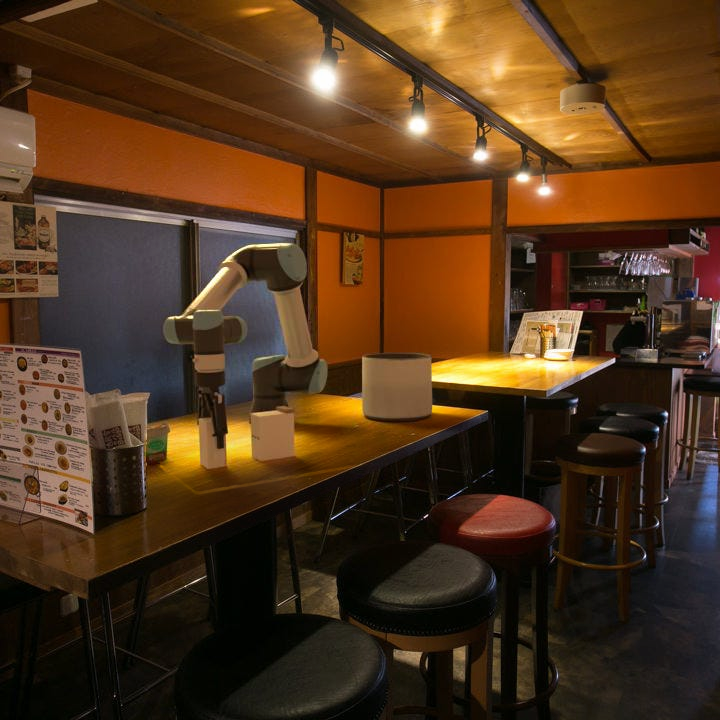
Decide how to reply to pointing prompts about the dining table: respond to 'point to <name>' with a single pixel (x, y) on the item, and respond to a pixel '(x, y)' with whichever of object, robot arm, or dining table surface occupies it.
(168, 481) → the dining table surface
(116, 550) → the dining table surface
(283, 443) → the cream rectangular box
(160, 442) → the food container
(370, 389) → the planter
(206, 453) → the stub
